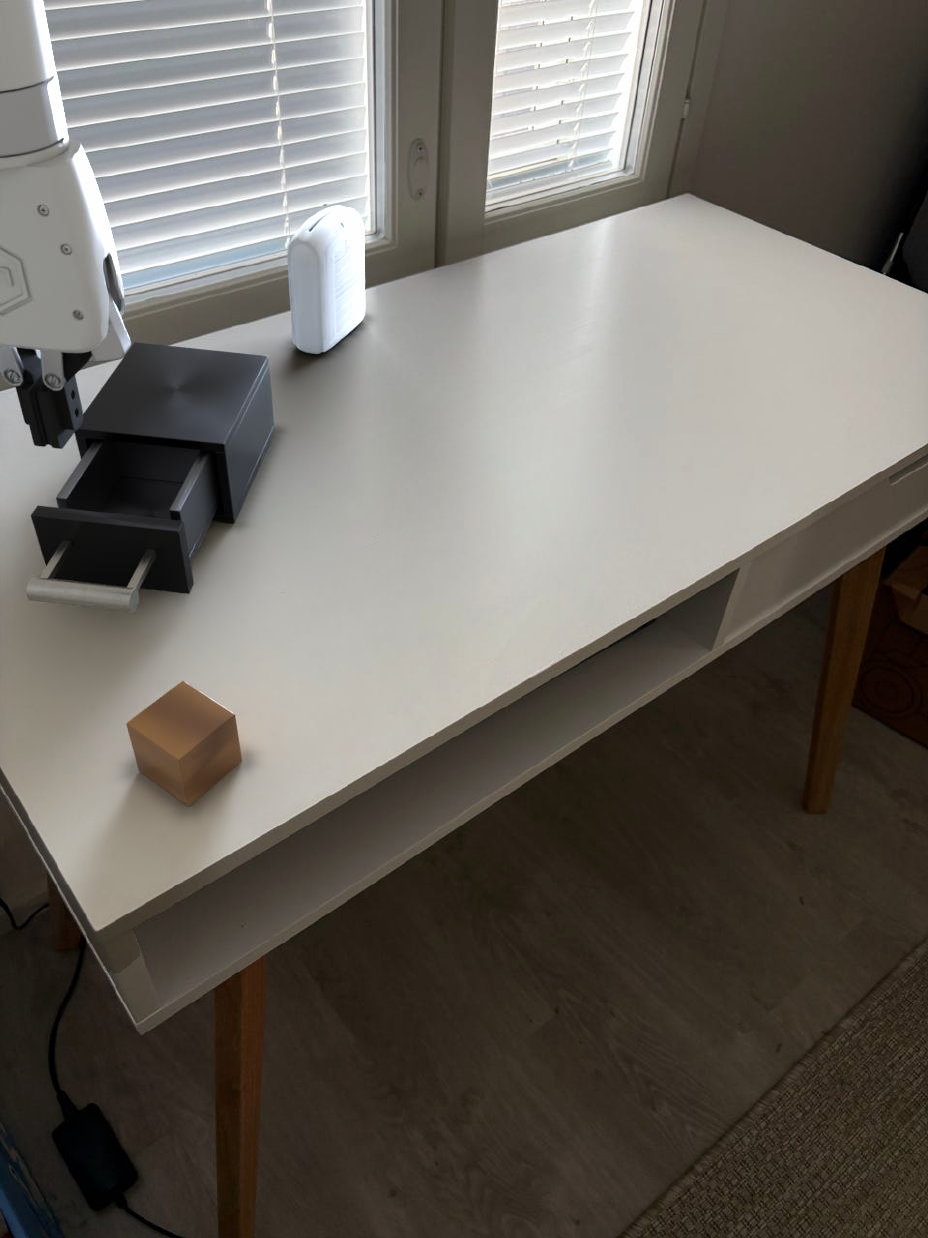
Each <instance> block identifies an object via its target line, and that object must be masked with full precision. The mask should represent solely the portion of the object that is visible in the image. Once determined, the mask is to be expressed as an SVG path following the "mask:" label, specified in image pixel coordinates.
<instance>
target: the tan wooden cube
mask: <svg viewBox="0 0 928 1238" xmlns="http://www.w3.org/2000/svg"><path fill="white" fill-rule="evenodd" d="M125 724H126V729H127V731H128V735H129V739H130V744H131V747H132V750H133V754H134V758H135V762H136V766H137V770H138V772H140V773H142V774H143V775H144V776H145V777H147V778H148V779H150V780H151V781H152V782H154V783H155V784H157V785H158V786H159V787H161V788H162V789H164V791H166V792H168V793H169V794H170V795H171V796H173V797H175V799H177V800H179V801H180V802H181V803H183V804H184V805H185V806H187V807H191V806H192V805H193V804H194V803H195V802H197V801H198V800H199V799H200V798H202V797H203V796H204V795H205V794H206V793H207V792H208V791H209V790H211V789H212V788H213V787H214V786H216V785H217V784H218V782H220V781H221V780H222V779H223V778H225V776H227V775H228V774H229V773H231V772H232V771H233V770H234V769H235V768H237V766H239V764H241V763H242V761H243V758H242V752H241V751H242V750H241V745H240V738H239V731H238V724H237V717H236V714H235V713H234V712H232V711H231V710H229V709H228V708H226V707H225V706H223V705H222V704H221V703H219V702H217V701H215V700H214V699H212V698H211V697H210V696H208V695H206V694H205V693H203V692H202V691H200V690H199V689H197V688H195V687H194V686H193V685H191V684H189V683H188V682H187V681H185V680H181V681H180V682H179V683H178V684H176V685H175V686H173V687H172V688H171V689H169V690H168V691H167V692H166V693H164V694H163V695H161V696H160V697H158V699H156V700H155V701H154V702H152V703H151V704H149V705H148V706H147V707H146V708H144V709H143V710H141V711H140V712H139V713H138V714H137V715H135V716H133V717H132V718H131V719H130V720H129V721H127V722H126V723H125Z"/></svg>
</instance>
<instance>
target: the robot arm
mask: <svg viewBox="0 0 928 1238" xmlns="http://www.w3.org/2000/svg"><path fill="white" fill-rule="evenodd" d="M46 15H47V14H46V9H45V5H44V0H0V375H1V377H2V379H3V380H4V381H5V383H7V384H8V385H10V386H12V387H15V391H16V395H17V399H18V402H19V406H20V410H21V414H22V417H23V421H24V423H25V424H26V426H27V425H28V427H29V430H30V433H31V438H32V442H33V445H34V446H35V447H40V448H41V447H42V448H45V447H46V446H48V445H49V446H51V448H52V449H59V450H60V449H61V450H62V449H64V447H65V446H66V445H67V443H69V441H70V439H71V438H72V437H73V436H74V435H75V433H74V432H75V431H76V430H78V429H79V428H80V426H81V425H82V422H83V414H84V410H83V405H82V401H81V397H80V391H79V386H78V383H77V378H76V374H78V373H79V372H80V371H81V369H83V368H84V367H85V366H86V365H87V363H92V362H95V363H101V362H109V361H110V362H111V361H118V360H122V359H123V358H124V356H125V355H126V353H127V352H128V351H129V349H130V348H131V346H132V341H131V338H130V335H129V334H128V331H127V328H126V326H125V323H124V320H123V319H122V317H123V316H124V314H125V310H126V298H125V290H124V282H123V277H122V273H121V267H120V264H119V263H120V262H119V260H118V254H117V249H116V245H115V241H114V238H113V237H114V236H113V233H112V228H111V226H110V221H109V219H108V215H107V211H106V208H105V205H104V201H103V198H102V195H101V192H100V190H99V189H100V188H99V186H98V184H97V181H96V178H95V175H94V172H93V169H92V167H91V165H90V162H89V159H88V157H87V155H86V152H85V149H84V148H83V146H82V143H81V140H79V139H78V138H74V137H70V136H69V133H68V126H67V123H66V116H65V112H64V111H65V110H64V106H63V100H62V96H61V89H60V83H59V79H58V73H57V70H56V64H55V60H54V54H53V49H52V42H51V39H50V31H49V26H48V21H47V16H46Z"/></svg>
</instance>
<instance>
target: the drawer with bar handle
mask: <svg viewBox="0 0 928 1238" xmlns="http://www.w3.org/2000/svg"><path fill="white" fill-rule="evenodd" d="M55 500H56V504H57V505H56V506H57V507H56V506H47V505H46V506H45V505H36V507H35V508H34V509H33V511H32V513H31V514H30V518H31V521H32V525H33V528H34V531H35V535H36V538H37V542H38V546H39V549H40V552H41V555H42V559H43V561H44V565H45V567H44V569H43V570H42V573H41V574H40V576H39V577H37V576H32V577H30V578H29V579H28V581H27V584H26V589H25V592H26V598H27V600H29V601H30V602H38V603H46V604H55V605H56V604H57V605H63V606H64V605H65V606H73V607H81V608H92V609H98V610H99V609H100V610H101V609H102V610H110V611H119V612H127V613H134V612H135V611H136V610H137V608H138V605H139V598H140V596H139V595H140V594H139V590H147V591H148V590H149V591H158V592H165V593H173V594H174V593H175V594H183V595H184V594H185V595H190V593H191V591H192V589H193V587H194V584H195V581H194V575H193V569H192V564H193V562H194V560H195V557H196V555H197V553H198V552H199V548H200V546H201V545H202V544H203V543H202V542H203V540H204V538H205V536H206V534H207V532H208V530H209V527H210V526H211V523H212V519H213V517H214V515H215V513H216V511H217V509H218V506H219V504H220V502H221V500H222V497H221V490H220V482H219V475H218V467H217V460H216V452H214V451H205V450H195V449H186V448H176V447H167V446H158V445H148V444H139V443H129V442H120V441H110V440H101V439H95V440H94V441H93V443H92V444H91V446H90V447H89V449H88V450H87V452H86V453H85V455H84V456H83V458H82V459H81V458H80V460H79V462H78V463H77V465H76V466H75V468H74V470H73V471H72V472H71V474H70V476H69V477H68V478H67V480H66V481H65V483H64V484H63V486H62V488H61V489H60V490H59V492H58V493H57V494H56V496H55Z"/></svg>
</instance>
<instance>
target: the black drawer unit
mask: <svg viewBox="0 0 928 1238" xmlns="http://www.w3.org/2000/svg"><path fill="white" fill-rule="evenodd" d="M269 359H270V357H269V355H262V354H252V353H243V352H233V351H223V350H216V349H215V350H214V349H206V348H205V349H204V348H195V347H185V346H174V345H164V344H156V343H146V342H133V344H131V347H130V348H129V350H128V351H127V352H126V354H125V355H124V356H123V358H122V359H120V361H119V363H118V365H117V366H116V367H115V369H114V370H113V372H112V373H111V375H110V376H109V377H108V378H107V380H106V381H105V383H104V384H103V385H102V387H101V389H100V390H99V391H98V393H96V396H95V397H94V398H93V400H92V401H91V402H90V404H89V405H88V407H87V408H86V409H85V410H84V411H83V422H82V425H81V426H80V428H79V429H78V430H76V431H75V432H74V436H75V441H76V445H77V449H78V454H79V457H80V460H81V459H82V458H83V456H84V455H85V453H86V452H87V450H88V449H89V447H90V446H91V444H92V443H93V441H94V440H95V439H101V440H110V441H120V442H129V443H139V444H148V445H158V446H167V447H176V448H186V449H195V450H205V451H214V452H216V460H217V467H218V475H219V482H220V490H221V497H222V500H221V502H220V504H219V506H218V509H217V511H216V513H215V515H214V517H213V519H212V521H211V523H222V524H231V525H234V524H236V521H237V519H238V516H239V515H240V512H241V509H242V508H243V505H244V503H245V501H246V498H247V496H248V494H249V492H250V489H251V487H252V484H253V482H254V480H255V478H256V476H257V473H258V471H259V469H260V467H261V464H262V462H263V460H264V457H265V455H266V454H267V451H268V449H269V446H270V444H271V442H272V440H273V437H274V435H275V433H276V429H275V418H274V408H273V407H274V406H273V396H272V394H273V393H272V384H271V383H272V382H271V373H270V372H271V371H270V360H269Z"/></svg>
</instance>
